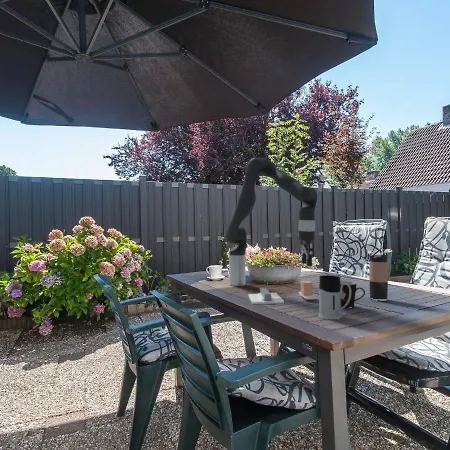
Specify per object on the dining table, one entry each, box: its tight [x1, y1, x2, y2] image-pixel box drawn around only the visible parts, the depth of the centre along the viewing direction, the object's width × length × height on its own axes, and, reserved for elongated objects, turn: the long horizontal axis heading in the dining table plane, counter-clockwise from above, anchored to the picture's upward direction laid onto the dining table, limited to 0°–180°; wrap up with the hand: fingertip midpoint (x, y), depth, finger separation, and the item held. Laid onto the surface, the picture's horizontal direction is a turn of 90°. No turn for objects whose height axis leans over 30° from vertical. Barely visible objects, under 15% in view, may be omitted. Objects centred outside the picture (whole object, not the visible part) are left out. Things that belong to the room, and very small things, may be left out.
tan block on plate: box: [298, 280, 316, 300], centre depth 156 cm, size 12×4×7 cm, turn 2°
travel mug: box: [368, 254, 389, 300], centre depth 152 cm, size 8×8×20 cm
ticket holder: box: [247, 287, 285, 305], centre depth 155 cm, size 16×14×4 cm
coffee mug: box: [340, 280, 366, 309], centre depth 140 cm, size 12×9×10 cm
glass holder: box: [317, 274, 351, 320], centre depth 124 cm, size 9×14×15 cm, turn 28°
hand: (306, 264), depth 156 cm, fingers open, 8 cm apart
